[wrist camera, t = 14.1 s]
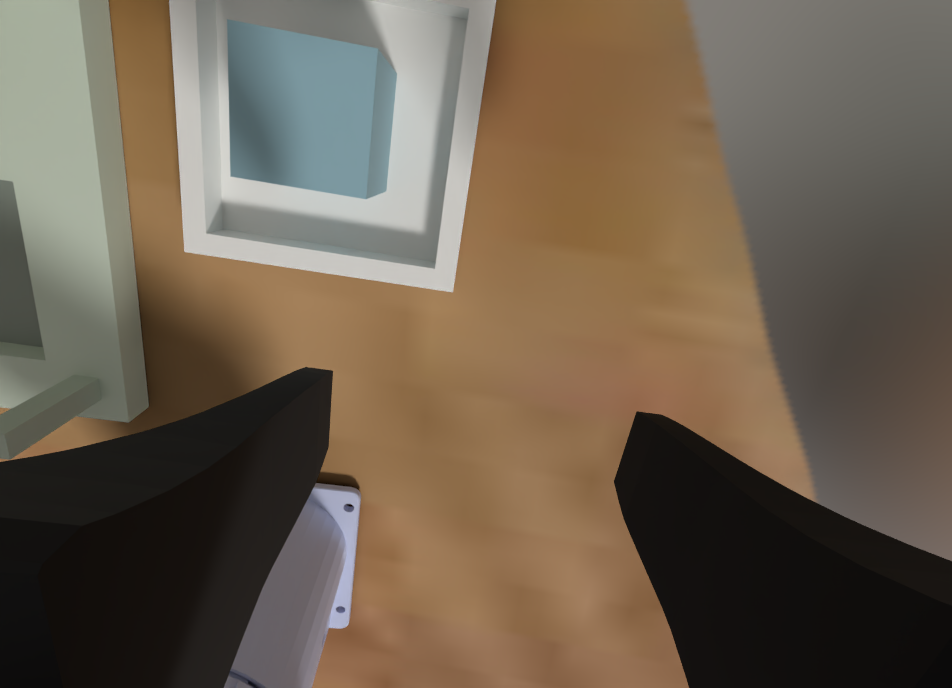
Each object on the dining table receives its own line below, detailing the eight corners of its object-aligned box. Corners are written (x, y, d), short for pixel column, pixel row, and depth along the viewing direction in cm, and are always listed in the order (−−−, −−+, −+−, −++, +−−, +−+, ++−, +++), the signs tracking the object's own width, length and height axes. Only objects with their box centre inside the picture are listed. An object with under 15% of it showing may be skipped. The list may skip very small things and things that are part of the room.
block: (386, 191, 18) (365, 199, 14) (279, 173, 18) (230, 176, 14) (396, 73, 17) (377, 48, 13) (281, 51, 16) (226, 18, 12)
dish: (453, 281, 20) (452, 292, 18) (209, 243, 19) (184, 251, 17) (495, 1, 16) (498, -17, 15) (196, -59, 15) (164, -86, 14)
